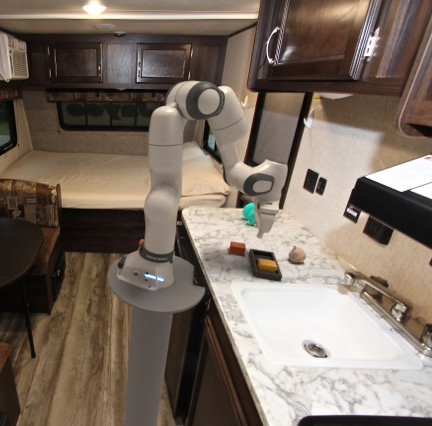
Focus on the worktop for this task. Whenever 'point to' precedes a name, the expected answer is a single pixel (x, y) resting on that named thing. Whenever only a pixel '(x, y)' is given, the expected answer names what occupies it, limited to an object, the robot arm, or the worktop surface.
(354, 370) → the worktop surface
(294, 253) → the garlic bulb
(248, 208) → the turquoise spool
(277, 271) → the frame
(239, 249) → the orange-red rectangular block
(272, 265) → the yellow-orange rectangular block
